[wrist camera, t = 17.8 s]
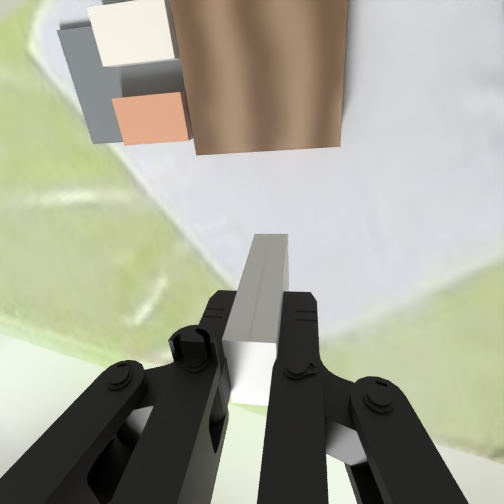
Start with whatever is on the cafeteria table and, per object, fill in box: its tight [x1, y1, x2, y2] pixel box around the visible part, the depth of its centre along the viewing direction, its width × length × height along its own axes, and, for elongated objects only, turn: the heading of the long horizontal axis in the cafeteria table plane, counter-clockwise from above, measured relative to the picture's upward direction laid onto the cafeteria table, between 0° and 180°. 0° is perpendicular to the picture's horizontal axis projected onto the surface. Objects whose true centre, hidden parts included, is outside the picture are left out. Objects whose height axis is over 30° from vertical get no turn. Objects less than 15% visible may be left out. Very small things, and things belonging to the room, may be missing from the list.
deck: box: [170, 0, 348, 155], centre depth 32 cm, size 16×16×4 cm
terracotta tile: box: [112, 91, 193, 145], centre depth 36 cm, size 8×5×2 cm, turn 95°
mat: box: [57, 26, 185, 144], centre depth 36 cm, size 14×12×1 cm
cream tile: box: [87, 0, 180, 67], centre depth 32 cm, size 8×5×2 cm, turn 95°
